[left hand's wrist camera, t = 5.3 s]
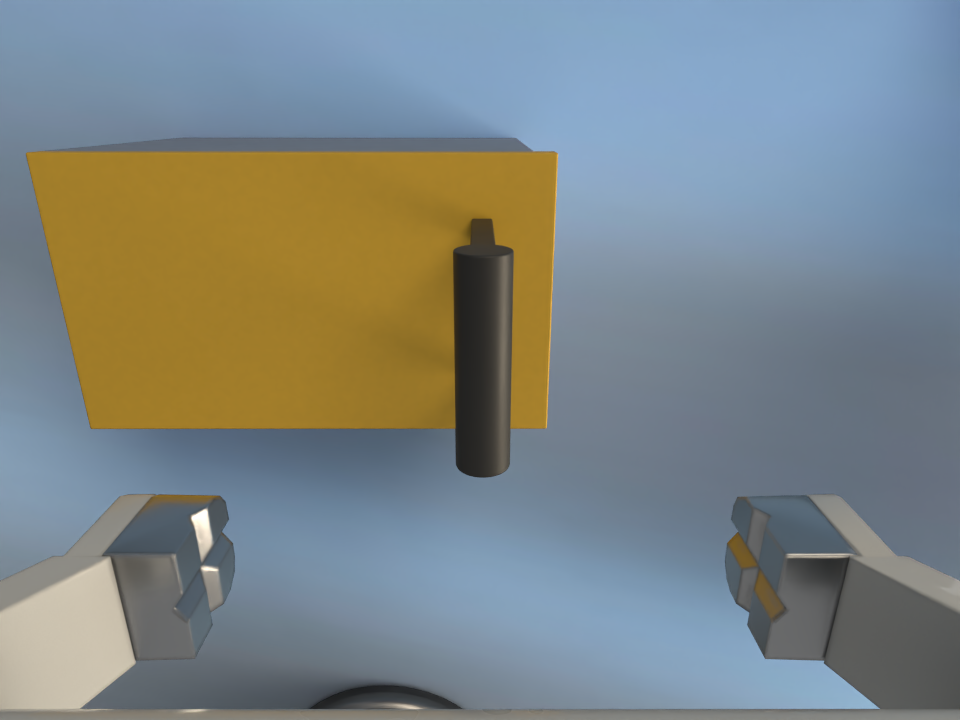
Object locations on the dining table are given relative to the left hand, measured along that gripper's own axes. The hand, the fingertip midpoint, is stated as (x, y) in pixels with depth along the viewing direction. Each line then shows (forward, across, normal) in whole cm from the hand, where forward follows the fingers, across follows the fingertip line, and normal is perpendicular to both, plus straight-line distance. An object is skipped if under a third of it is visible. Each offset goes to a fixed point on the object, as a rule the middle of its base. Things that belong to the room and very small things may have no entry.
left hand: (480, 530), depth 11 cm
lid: (+14, -6, 0) cm, 15 cm away
